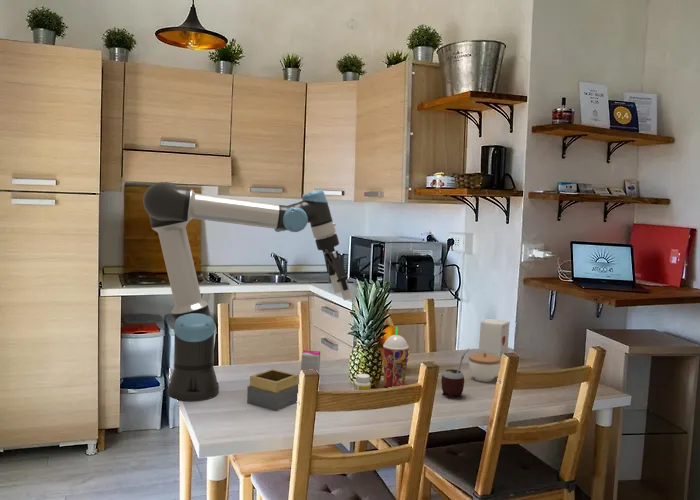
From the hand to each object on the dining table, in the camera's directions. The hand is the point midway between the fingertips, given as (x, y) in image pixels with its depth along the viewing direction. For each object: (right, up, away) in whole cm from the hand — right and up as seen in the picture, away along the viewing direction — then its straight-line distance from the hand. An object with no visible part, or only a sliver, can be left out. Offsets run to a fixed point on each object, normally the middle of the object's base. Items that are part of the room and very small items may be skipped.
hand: (343, 295), depth 214 cm
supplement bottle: (+6, -31, -25) cm, 40 cm away
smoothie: (+17, -29, -8) cm, 35 cm away
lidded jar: (+49, -29, +5) cm, 57 cm away
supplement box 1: (-11, -29, -12) cm, 33 cm away
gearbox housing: (-20, -30, -27) cm, 45 cm away
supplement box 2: (+58, -27, +33) cm, 73 cm away
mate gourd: (+35, -31, -14) cm, 49 cm away
